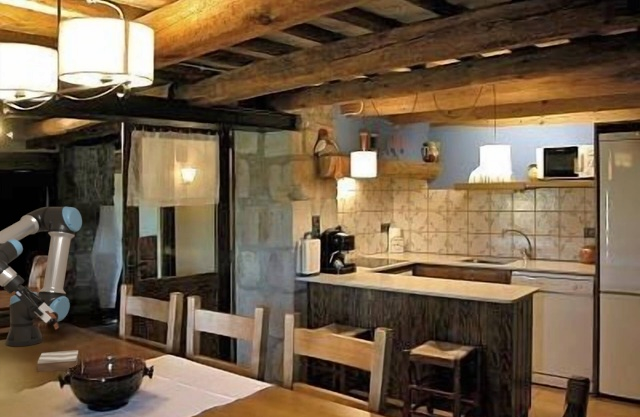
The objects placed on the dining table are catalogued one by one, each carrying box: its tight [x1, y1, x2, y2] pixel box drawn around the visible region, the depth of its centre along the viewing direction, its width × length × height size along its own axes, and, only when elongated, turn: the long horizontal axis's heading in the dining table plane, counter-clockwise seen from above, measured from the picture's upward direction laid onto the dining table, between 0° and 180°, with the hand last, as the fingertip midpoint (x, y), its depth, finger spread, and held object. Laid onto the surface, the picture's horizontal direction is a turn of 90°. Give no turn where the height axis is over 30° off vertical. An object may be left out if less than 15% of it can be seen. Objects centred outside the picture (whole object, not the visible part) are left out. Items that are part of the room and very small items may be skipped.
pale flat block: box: [37, 349, 80, 373], centre depth 246 cm, size 14×14×4 cm
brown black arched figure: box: [32, 311, 60, 330], centre depth 252 cm, size 12×10×8 cm
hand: (51, 317), depth 252 cm, fingers closed on brown black arched figure, 11 cm apart
